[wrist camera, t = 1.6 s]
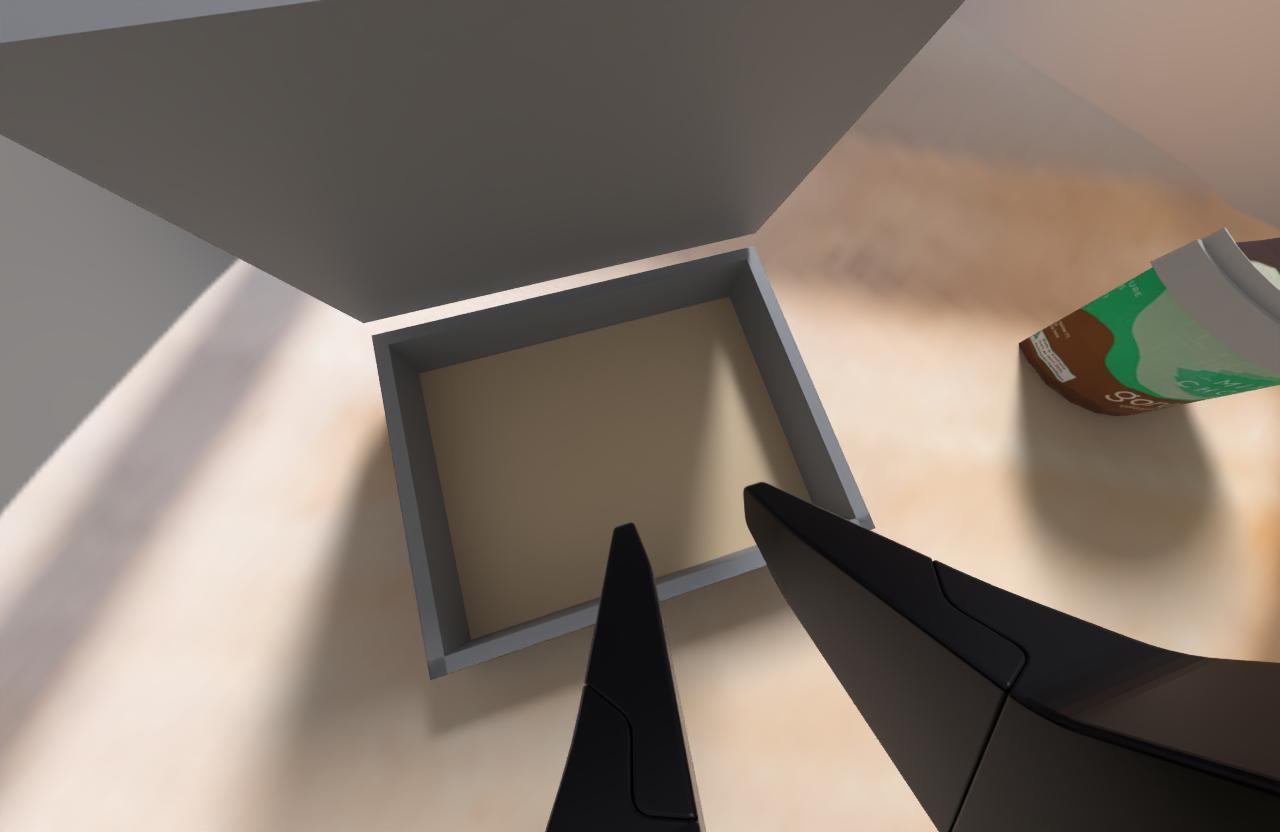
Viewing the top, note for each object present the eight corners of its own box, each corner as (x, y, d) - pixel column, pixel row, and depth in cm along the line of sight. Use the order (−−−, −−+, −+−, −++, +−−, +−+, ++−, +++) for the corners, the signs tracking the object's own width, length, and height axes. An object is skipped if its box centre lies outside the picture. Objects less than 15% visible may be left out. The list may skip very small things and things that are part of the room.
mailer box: (830, 532, 23) (875, 528, 19) (464, 656, 20) (430, 679, 17) (732, 290, 27) (753, 246, 23) (409, 370, 24) (371, 335, 20)
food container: (1035, 450, 25) (1300, 385, 15) (995, 345, 27) (1211, 228, 17) (1232, 422, 26) (1591, 346, 17) (1182, 324, 28) (1481, 204, 18)
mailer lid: (1053, -98, 8) (1043, -130, 8) (-141, 61, 6) (-153, 14, 6) (755, 233, 22) (751, 221, 22) (363, 323, 20) (360, 309, 20)
